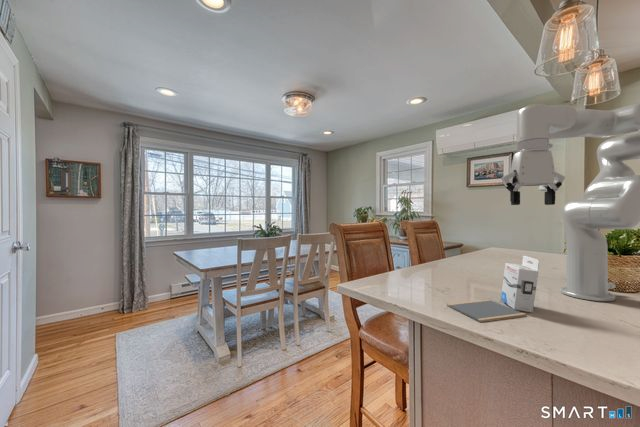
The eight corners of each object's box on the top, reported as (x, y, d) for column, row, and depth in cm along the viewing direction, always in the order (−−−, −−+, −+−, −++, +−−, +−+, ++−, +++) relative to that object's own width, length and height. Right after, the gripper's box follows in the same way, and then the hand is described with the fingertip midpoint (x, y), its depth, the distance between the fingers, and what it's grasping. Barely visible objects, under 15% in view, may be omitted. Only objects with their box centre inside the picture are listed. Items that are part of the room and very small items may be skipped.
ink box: (499, 299, 83) (505, 252, 82) (517, 302, 82) (523, 255, 81) (513, 309, 75) (520, 257, 74) (533, 313, 74) (540, 260, 73)
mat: (488, 301, 83) (488, 299, 83) (526, 316, 72) (526, 314, 72) (447, 306, 80) (447, 304, 80) (479, 322, 68) (479, 320, 68)
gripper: (553, 150, 83) (553, 205, 83) (495, 151, 85) (495, 205, 85) (574, 144, 76) (574, 204, 76) (510, 145, 77) (509, 204, 77)
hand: (532, 204), depth 80 cm, fingers open, 9 cm apart
